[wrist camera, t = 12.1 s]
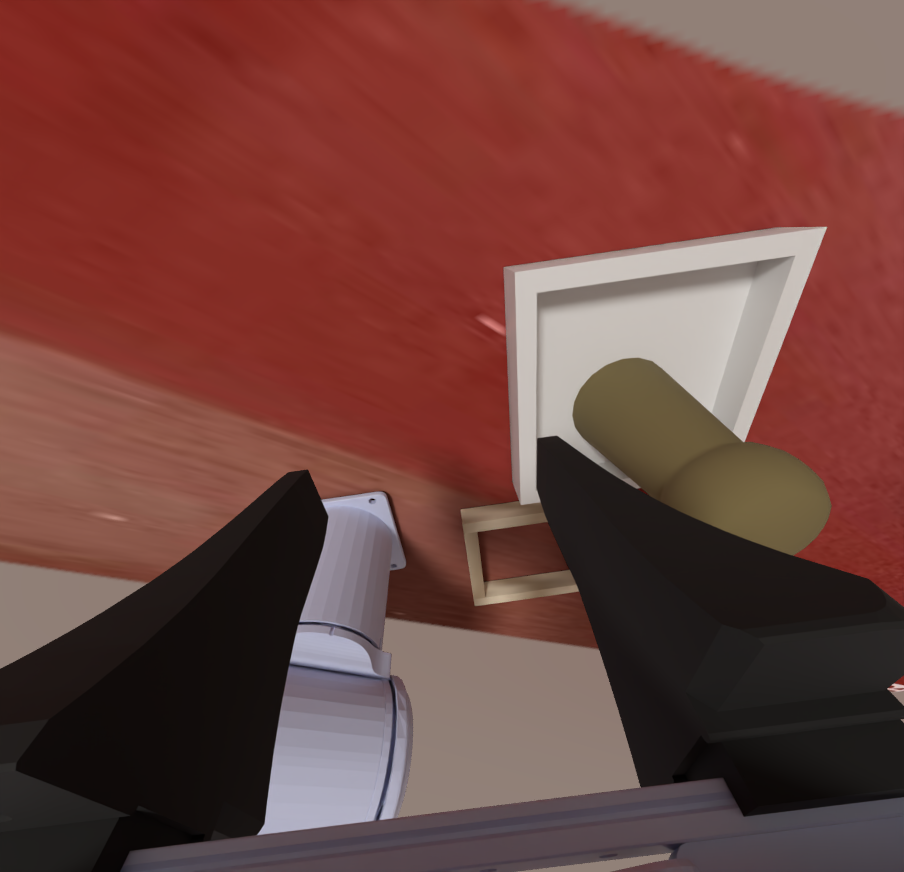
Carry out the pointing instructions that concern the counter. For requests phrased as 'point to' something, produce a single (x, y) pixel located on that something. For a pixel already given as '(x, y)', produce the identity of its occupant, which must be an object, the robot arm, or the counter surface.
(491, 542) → the counter surface
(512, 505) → the collar
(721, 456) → the cork
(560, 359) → the tray
